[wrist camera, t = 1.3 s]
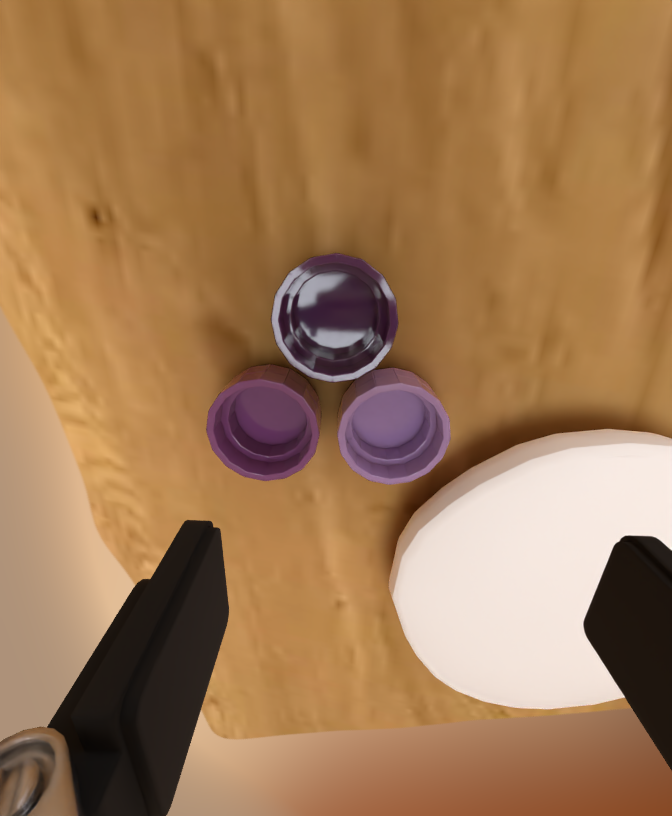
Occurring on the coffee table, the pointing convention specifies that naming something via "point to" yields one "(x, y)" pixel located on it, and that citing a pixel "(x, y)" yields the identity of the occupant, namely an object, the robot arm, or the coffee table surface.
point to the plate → (527, 564)
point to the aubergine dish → (334, 317)
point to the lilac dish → (392, 426)
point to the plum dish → (265, 423)
